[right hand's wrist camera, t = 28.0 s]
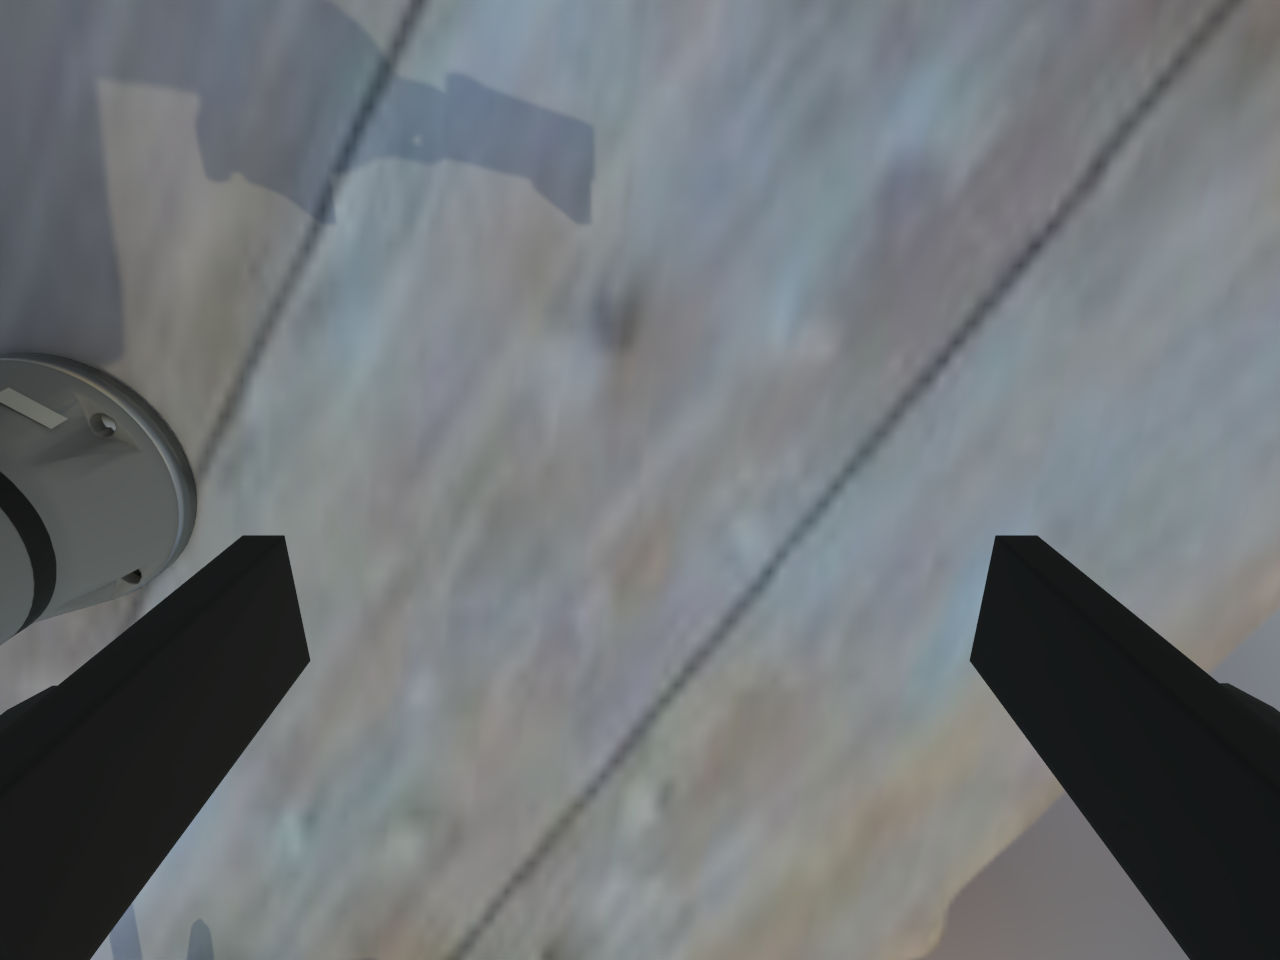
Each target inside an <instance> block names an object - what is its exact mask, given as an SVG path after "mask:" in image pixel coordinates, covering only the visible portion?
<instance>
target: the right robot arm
mask: <svg viewBox="0 0 1280 960" xmlns="http://www.w3.org/2000/svg"><path fill="white" fill-rule="evenodd" d="M195 516H196V494H195V487H194V482H193V478H192V474H191V471H190V468H189V465H188V463H187V460H186V458H185V456H184V454H183V452H182V450H181V448H180V446H179V444H178V442H177V441H176V439H175V438H174V436H173V434H172V433H171V432H170V430H169V429H168V427H167V426H166V425H165V423H164V422H163V421H162V420H161V419H160V418H159V416H158V415H157V414H156V413H155V412H154V411H153V410H152V409H151V408H150V407H149V406H148V405H147V404H146V403H145V402H144V401H143V400H142V399H140V398H139V397H138V396H137V395H136V394H134V393H133V392H132V391H131V390H129V389H128V388H126V387H125V386H124V385H122V384H121V383H119V382H118V381H116V380H114V379H113V378H111V377H109V376H108V375H106V374H104V373H102V372H100V371H98V370H96V369H94V368H91V367H89V366H87V365H84V364H82V363H79V362H76V361H73V360H70V359H66V358H62V357H57V356H52V355H46V354H36V353H15V354H8V355H1V356H0V645H2V644H3V643H4V642H6V641H7V640H8V639H10V638H11V637H13V636H14V635H16V634H17V633H19V632H20V631H22V630H23V629H25V628H26V627H28V626H29V625H31V624H32V623H34V622H37V621H41V620H44V619H47V618H51V617H54V616H58V615H61V614H65V613H68V612H71V611H75V610H78V609H82V608H85V607H89V606H92V605H95V604H99V603H102V602H106V601H109V600H113V599H116V598H118V597H121V596H123V595H126V594H129V593H131V592H133V591H135V590H137V589H139V588H141V587H142V586H144V585H146V584H147V583H148V582H150V581H151V580H152V579H154V578H155V577H156V576H158V575H159V574H160V573H162V572H163V571H164V570H165V569H167V568H168V567H169V566H170V565H171V564H172V563H173V562H174V561H175V560H176V559H177V558H178V557H179V556H180V554H181V553H182V552H183V550H184V548H185V547H186V545H187V543H188V541H189V539H190V536H191V534H192V530H193V527H194V523H195ZM309 662H310V657H309V652H308V647H307V642H306V638H305V633H304V628H303V623H302V618H301V614H300V609H299V604H298V599H297V594H296V589H295V585H294V580H293V575H292V570H291V565H290V560H289V556H288V551H287V546H286V541H285V536H242V537H240V538H239V539H238V540H237V541H236V542H234V543H233V544H232V545H231V546H229V547H228V548H227V549H226V550H224V551H223V552H222V553H221V554H220V555H218V556H217V557H216V558H215V559H213V560H212V561H211V562H210V563H208V564H207V565H206V566H205V567H203V568H202V569H201V570H200V571H199V572H197V573H196V574H195V575H194V576H192V577H191V578H190V579H189V580H187V581H186V582H185V583H184V584H183V585H181V586H180V587H179V588H178V589H176V590H175V591H174V592H173V593H171V594H170V595H169V596H168V597H167V598H165V599H164V600H163V601H162V602H160V603H159V604H158V605H157V606H155V607H154V608H153V609H152V610H151V611H149V612H148V613H147V614H146V615H144V616H143V617H142V618H141V619H139V620H138V621H137V622H136V623H134V624H133V625H132V626H131V627H130V628H128V629H127V630H126V631H125V632H123V633H122V634H121V635H120V636H118V637H117V638H116V639H115V640H114V641H112V642H111V643H110V644H109V645H107V646H106V647H105V648H104V649H102V650H101V651H100V652H99V653H98V654H96V655H95V656H94V657H93V658H91V659H90V660H89V661H88V662H86V663H85V664H84V665H83V666H82V667H80V668H79V669H78V670H77V671H75V672H74V673H73V674H72V675H70V676H69V677H68V678H67V679H65V680H64V681H63V682H62V683H61V684H59V685H58V686H51V687H49V688H48V689H46V690H44V691H42V692H40V693H38V694H36V695H34V696H33V697H31V698H29V699H27V700H25V701H23V702H21V703H20V704H18V705H16V706H14V707H12V708H10V709H8V710H7V711H5V712H4V713H3V714H2V715H0V960H90V959H91V958H92V956H93V955H94V953H95V952H96V951H97V949H98V948H99V947H100V945H101V944H102V943H103V941H104V940H105V939H106V937H107V936H108V934H109V933H110V932H111V930H112V929H113V928H114V926H115V925H116V924H117V922H118V921H119V920H120V918H121V917H122V915H123V914H124V913H125V911H126V910H127V909H128V907H129V906H130V905H131V903H132V902H133V901H134V899H135V898H136V896H137V895H138V894H139V892H140V891H141V890H142V888H143V887H144V886H145V884H146V883H147V882H148V880H149V879H150V877H151V876H152V875H153V873H154V872H155V871H156V869H157V868H158V867H159V865H160V864H161V863H162V861H163V860H164V858H165V857H166V856H167V854H168V853H169V852H170V850H171V849H172V848H173V846H174V845H175V844H176V842H177V841H178V839H179V838H180V837H181V835H182V834H183V833H184V831H185V830H186V829H187V827H188V826H189V825H190V823H191V822H192V820H193V819H194V818H195V816H196V815H197V814H198V812H199V811H200V810H201V808H202V807H203V806H204V804H205V803H206V801H207V800H208V799H209V797H210V796H211V795H212V793H213V792H214V791H215V789H216V788H217V787H218V785H219V784H220V782H221V781H222V780H223V778H224V777H225V776H226V774H227V773H228V772H229V770H230V769H231V768H232V766H233V765H234V763H235V762H236V761H237V759H238V758H239V757H240V755H241V754H242V753H243V751H244V750H245V749H246V747H247V746H248V744H249V743H250V742H251V740H252V739H253V738H254V736H255V735H256V734H257V732H258V731H259V730H260V728H261V727H262V725H263V724H264V723H265V721H266V720H267V719H268V717H269V716H270V715H271V713H272V712H273V711H274V709H275V708H276V706H277V705H278V704H279V702H280V701H281V700H282V698H283V697H284V696H285V694H286V693H287V692H288V690H289V689H290V687H291V686H292V685H293V683H294V682H295V681H296V679H297V678H298V677H299V675H300V674H301V673H302V671H303V670H304V668H305V667H306V666H307V664H308V663H309ZM970 662H971V663H972V664H973V666H974V667H975V668H976V670H977V671H978V673H979V674H980V675H981V677H982V678H983V679H984V681H985V682H986V683H987V685H988V686H989V687H990V689H991V690H992V692H993V693H994V694H995V696H996V697H997V698H998V700H999V701H1000V702H1001V704H1002V705H1003V706H1004V708H1005V709H1006V711H1007V712H1008V713H1009V715H1010V716H1011V717H1012V719H1013V720H1014V721H1015V723H1016V724H1017V725H1018V727H1019V728H1020V730H1021V731H1022V732H1023V734H1024V735H1025V736H1026V738H1027V739H1028V740H1029V742H1030V743H1031V744H1032V746H1033V747H1034V749H1035V750H1036V751H1037V753H1038V754H1039V755H1040V757H1041V758H1042V759H1043V761H1044V762H1045V763H1046V765H1047V766H1048V768H1049V769H1050V770H1051V772H1052V773H1053V774H1054V776H1055V777H1056V778H1057V780H1058V781H1059V782H1060V784H1061V785H1062V787H1063V788H1064V789H1065V791H1066V792H1067V793H1068V795H1069V796H1070V797H1071V799H1072V800H1073V801H1074V803H1075V804H1076V806H1077V807H1078V808H1079V810H1080V811H1081V812H1082V814H1083V815H1084V816H1085V818H1086V819H1087V820H1088V822H1089V823H1090V824H1091V826H1092V827H1093V829H1094V830H1095V831H1096V833H1097V834H1098V835H1099V837H1100V838H1101V839H1102V841H1103V842H1104V844H1105V845H1106V846H1107V848H1108V849H1109V850H1110V852H1111V853H1112V854H1113V856H1114V857H1115V858H1116V860H1117V861H1118V863H1119V864H1120V865H1121V867H1122V868H1123V869H1124V871H1125V872H1126V873H1127V875H1128V876H1129V877H1130V879H1131V880H1132V882H1133V883H1134V884H1135V886H1136V887H1137V888H1138V890H1139V891H1140V892H1141V894H1142V895H1143V896H1144V898H1145V899H1146V901H1147V902H1148V903H1149V905H1150V906H1151V907H1152V909H1153V910H1154V911H1155V913H1156V914H1157V915H1158V917H1159V918H1160V920H1161V921H1162V922H1163V924H1164V925H1165V926H1166V928H1167V929H1168V930H1169V932H1170V933H1171V934H1172V936H1173V937H1174V938H1175V940H1176V941H1177V943H1178V944H1179V945H1180V947H1181V948H1182V949H1183V951H1184V952H1185V953H1186V955H1187V956H1188V958H1189V959H1190V960H1280V712H1279V711H1278V710H1276V709H1275V708H1274V707H1272V706H1270V705H1268V704H1266V703H1264V702H1262V701H1260V700H1259V699H1257V698H1255V697H1253V696H1251V695H1249V694H1247V693H1245V692H1244V691H1242V690H1240V689H1238V688H1236V687H1234V686H1232V685H1230V684H1228V683H1218V682H1217V681H1216V680H1214V679H1213V678H1212V677H1211V676H1210V675H1208V674H1207V673H1206V672H1205V671H1203V670H1202V669H1201V668H1200V667H1198V666H1197V665H1196V664H1195V663H1194V662H1192V661H1191V660H1190V659H1189V658H1187V657H1186V656H1185V655H1184V654H1182V653H1181V652H1180V651H1179V650H1178V649H1176V648H1175V647H1174V646H1173V645H1171V644H1170V643H1169V642H1168V641H1166V640H1165V639H1164V638H1163V637H1162V636H1160V635H1159V634H1158V633H1157V632H1155V631H1154V630H1153V629H1152V628H1150V627H1149V626H1148V625H1147V624H1146V623H1144V622H1143V621H1142V620H1141V619H1139V618H1138V617H1137V616H1136V615H1134V614H1133V613H1132V612H1131V611H1129V610H1128V609H1127V608H1126V607H1125V606H1123V605H1122V604H1121V603H1120V602H1118V601H1117V600H1116V599H1115V598H1113V597H1112V596H1111V595H1110V594H1109V593H1107V592H1106V591H1105V590H1104V589H1102V588H1101V587H1100V586H1099V585H1097V584H1096V583H1095V582H1094V581H1093V580H1091V579H1090V578H1089V577H1088V576H1086V575H1085V574H1084V573H1083V572H1081V571H1080V570H1079V569H1078V568H1077V567H1075V566H1074V565H1073V564H1072V563H1070V562H1069V561H1068V560H1067V559H1065V558H1064V557H1063V556H1062V555H1060V554H1059V553H1058V552H1057V551H1056V550H1054V549H1053V548H1052V547H1051V546H1049V545H1048V544H1047V543H1046V542H1044V541H1043V540H1042V539H1041V538H1040V537H1038V536H995V541H994V546H993V551H992V556H991V560H990V565H989V570H988V575H987V580H986V585H985V589H984V594H983V599H982V604H981V609H980V614H979V618H978V623H977V628H976V633H975V638H974V642H973V647H972V652H971V657H970Z"/></svg>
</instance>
